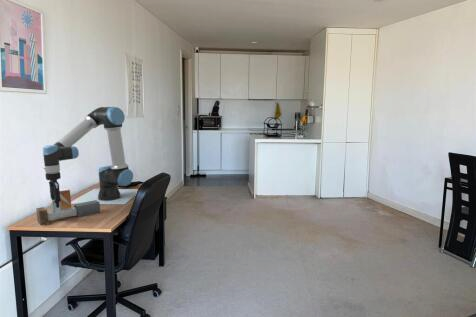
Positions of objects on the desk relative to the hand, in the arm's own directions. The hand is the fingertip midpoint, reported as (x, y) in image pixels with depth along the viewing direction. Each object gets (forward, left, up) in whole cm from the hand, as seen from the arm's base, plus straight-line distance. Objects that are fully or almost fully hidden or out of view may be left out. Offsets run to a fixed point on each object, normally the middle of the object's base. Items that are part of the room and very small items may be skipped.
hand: (56, 211), depth 202 cm
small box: (-8, -20, -5) cm, 22 cm away
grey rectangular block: (-17, 0, -5) cm, 18 cm away
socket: (+8, 0, -5) cm, 9 cm away
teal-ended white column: (-4, 0, -4) cm, 6 cm away
